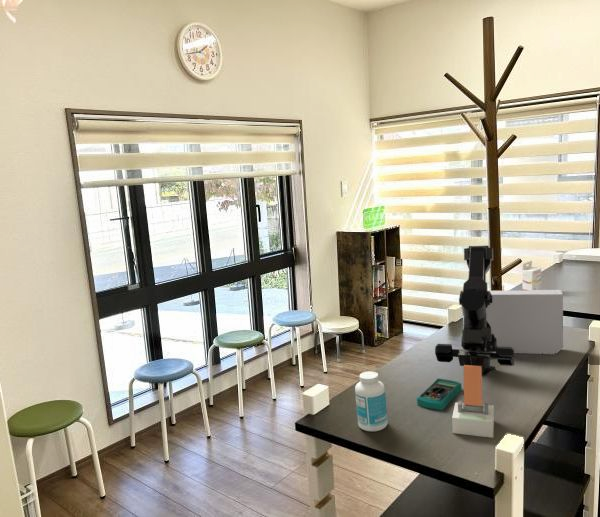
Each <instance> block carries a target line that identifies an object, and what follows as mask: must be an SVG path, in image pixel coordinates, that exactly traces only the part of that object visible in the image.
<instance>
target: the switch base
mask: <svg viewBox="0 0 600 517" xmlns="http://www.w3.org/2000/svg"><path fill="white" fill-rule="evenodd" d="M463 404H464V402H463V400H458V401H457V402H454V408H453V413H452V417H451V421H452V423H451V425H452V434H456V435H457V434H458V435H466V436H474V437H483V438H484V437H485V438H492V439H493V438H494V432H495V431H494V430H495V429H494V428H495V409H494V408H495V407H494V405H489V403H487V402H484V404H482V406H483V412H472V411H463Z"/></svg>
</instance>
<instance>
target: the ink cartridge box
mask: <svg viewBox="0 0 600 517" xmlns="http://www.w3.org/2000/svg"><path fill="white" fill-rule="evenodd" d="M532 263H533V261H532V260H530V261H526V262H524V263H522V274H521V276H522V277H521V278H522V279H521V280H522V282H521V283H522V284H521V285H522V291H527V290H542V267H534V266H532Z"/></svg>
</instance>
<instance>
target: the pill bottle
mask: <svg viewBox="0 0 600 517" xmlns="http://www.w3.org/2000/svg"><path fill="white" fill-rule="evenodd" d="M379 378H380V377H379V373H378V372H376V371H369V370H368V371H363V372H361V373H360V374H359V382H357V383H356V384H355V387H354V393H355V403H356V406H355V407H356V415H357V416H356V417H357V418H356V419H357V424H358V427H359V428H360V429H361V430H364V431H366V432H378V431H382V430H384V429H385V428H386V427H387V425H388V424H389V423H388V408H387V399H386V398H387V397H386V396H387V395H386V386H385V384H384V383H383V382H382V381H380V380H379Z"/></svg>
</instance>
